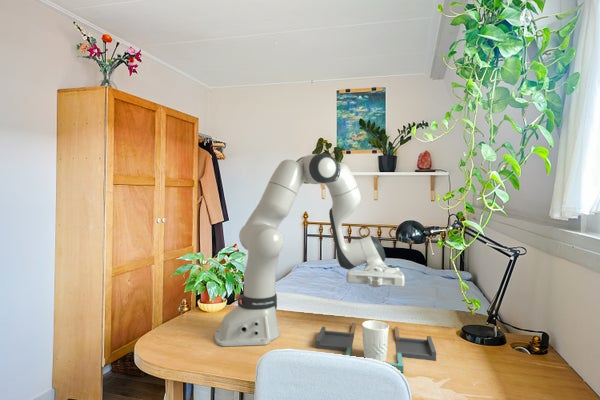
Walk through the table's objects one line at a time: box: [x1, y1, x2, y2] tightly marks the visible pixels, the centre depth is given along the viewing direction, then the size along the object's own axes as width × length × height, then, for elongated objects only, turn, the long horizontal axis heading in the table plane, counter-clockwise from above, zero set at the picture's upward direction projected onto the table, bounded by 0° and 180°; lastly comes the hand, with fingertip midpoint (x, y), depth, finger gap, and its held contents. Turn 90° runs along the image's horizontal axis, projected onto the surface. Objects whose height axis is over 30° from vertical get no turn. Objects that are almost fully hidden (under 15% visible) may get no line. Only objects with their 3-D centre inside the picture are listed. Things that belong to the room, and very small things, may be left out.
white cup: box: [361, 319, 390, 362], centre depth 109 cm, size 8×8×10 cm
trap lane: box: [315, 322, 437, 374], centre depth 118 cm, size 32×36×2 cm
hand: (374, 283), depth 122 cm, fingers closed
